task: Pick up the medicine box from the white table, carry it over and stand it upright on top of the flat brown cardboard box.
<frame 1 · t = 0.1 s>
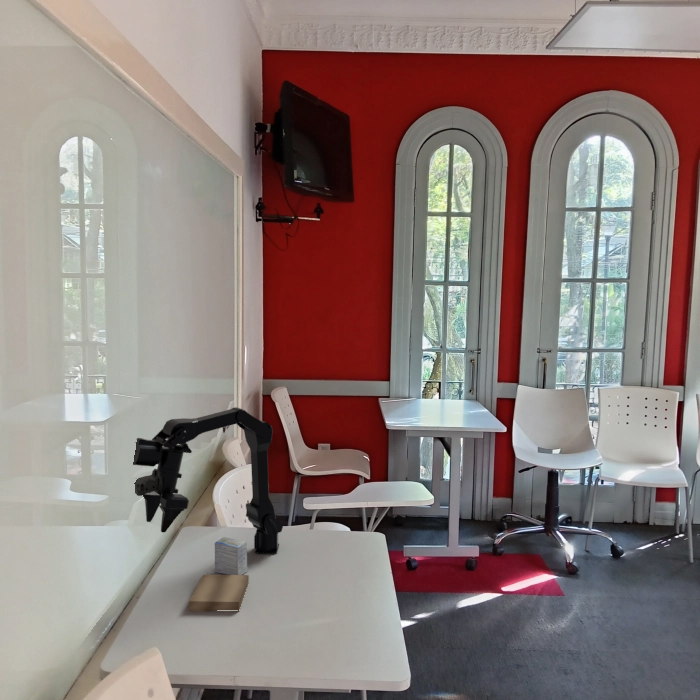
hand: (155, 526, 158), 15 cm above the table, tool pointing down, fingers open, 9 cm apart
flat brown cardboard box: (220, 598, 152), on the table
medicine box: (231, 572, 166), on the table
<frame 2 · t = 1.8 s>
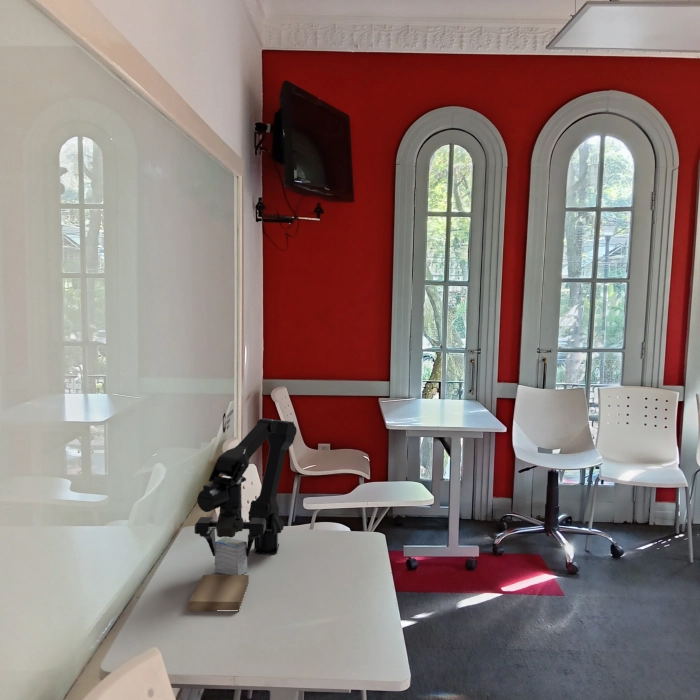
hand: (231, 555, 166), 5 cm above the table, tool pointing down, fingers open, 9 cm apart
nothing on the table moved.
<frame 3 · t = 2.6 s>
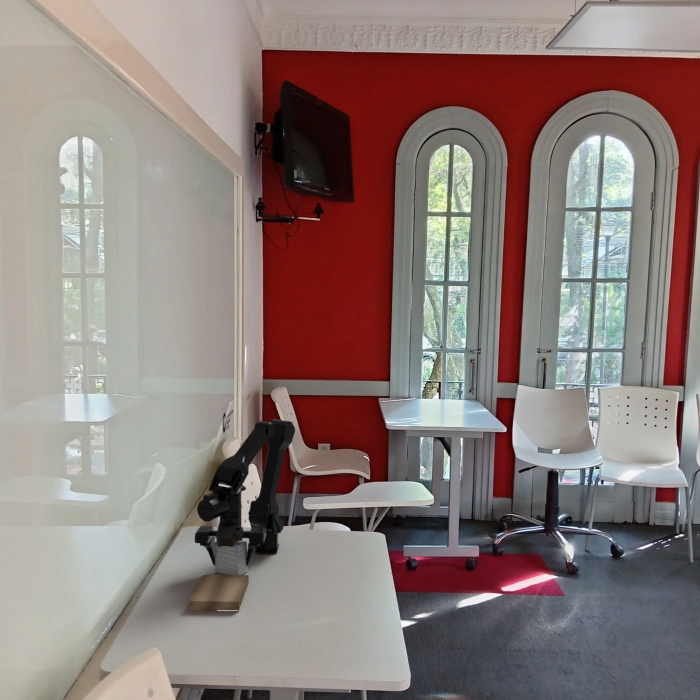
hand: (231, 564, 166), 2 cm above the table, tool pointing down, fingers closed on medicine box, 9 cm apart
medicine box: (231, 572, 166), on the table, touching gripper
everything else where it was.
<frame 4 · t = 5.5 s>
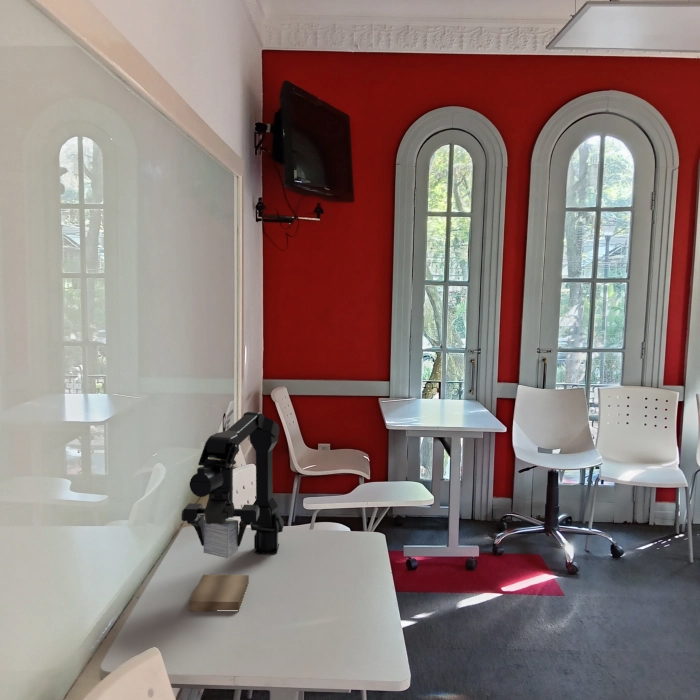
hand: (220, 545, 153), 13 cm above the table, tool pointing down, fingers closed on medicine box, 9 cm apart
medicine box: (220, 554, 153), point 10 cm above the table, touching gripper
everything else where it was.
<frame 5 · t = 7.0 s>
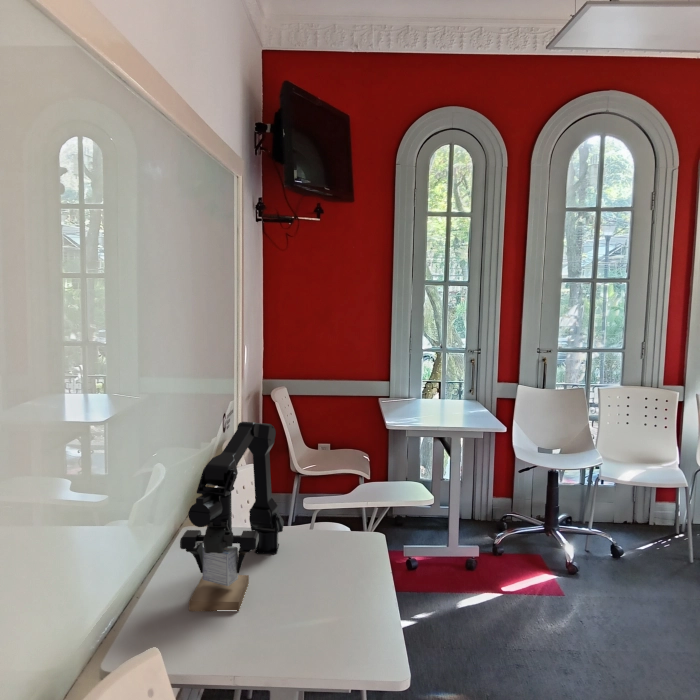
hand: (220, 572, 152), 6 cm above the table, tool pointing down, fingers closed on medicine box, 9 cm apart
medicine box: (220, 580, 152), point 4 cm above the table, touching gripper
everything else where it was.
when the fingers open (6 cm above the table, at t = 8.1 s): medicine box drops 2 cm, resting on flat brown cardboard box.
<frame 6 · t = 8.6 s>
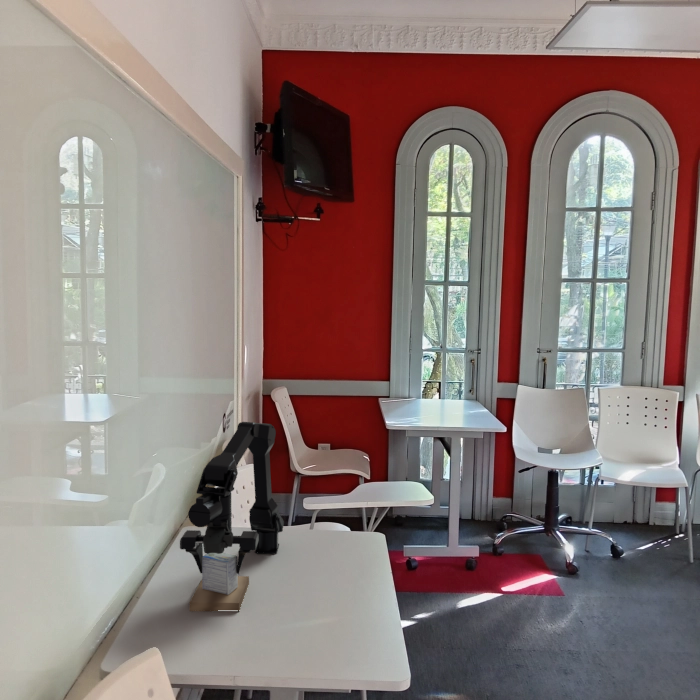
hand: (220, 572, 152), 6 cm above the table, tool pointing down, fingers open, 9 cm apart
flat brown cardboard box: (220, 600, 152), on the table, touching medicine box
medicine box: (220, 589, 152), point 2 cm above the table, touching flat brown cardboard box
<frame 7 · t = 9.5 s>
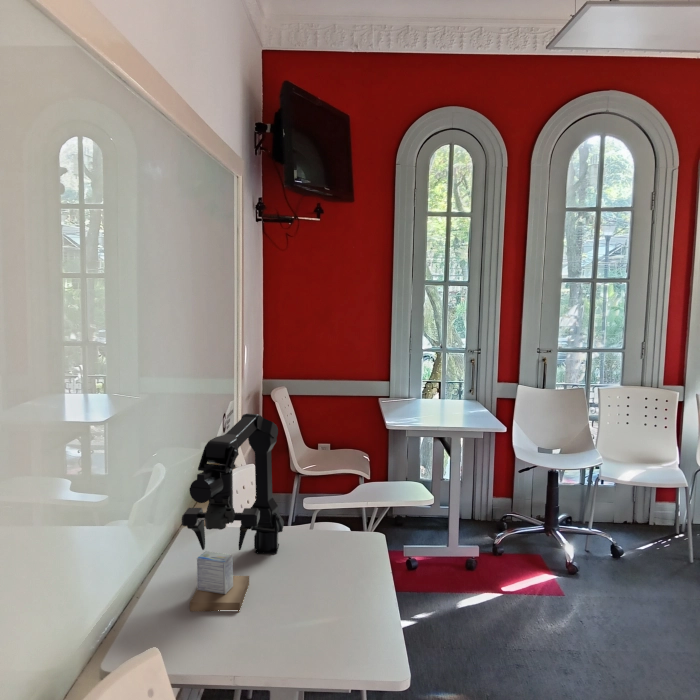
hand: (221, 549, 153), 12 cm above the table, tool pointing down, fingers open, 9 cm apart
medicine box: (215, 589, 152), point 2 cm above the table, touching flat brown cardboard box
everything else where it was.
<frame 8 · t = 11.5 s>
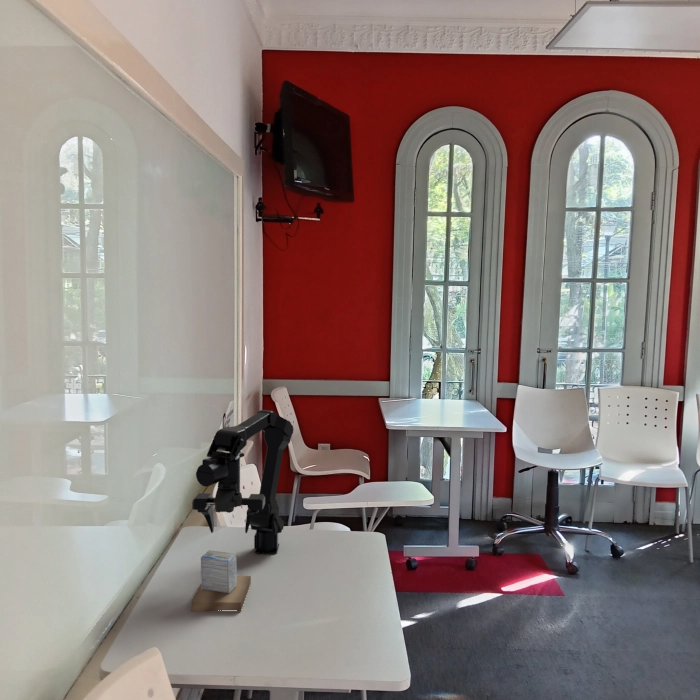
hand: (229, 532, 163), 12 cm above the table, tool pointing down, fingers open, 9 cm apart
at the end: medicine box 0.8 cm off-centre on the flat brown cardboard box, point 2.8 cm above the flat brown cardboard box's base; medicine box tilted 1°; the gripper is holding nothing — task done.
